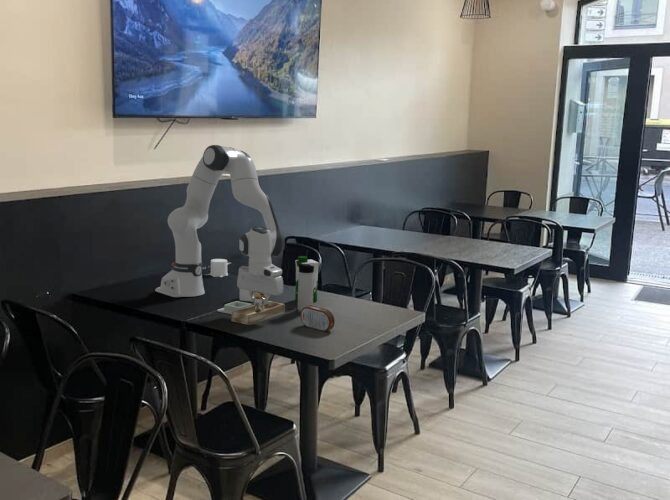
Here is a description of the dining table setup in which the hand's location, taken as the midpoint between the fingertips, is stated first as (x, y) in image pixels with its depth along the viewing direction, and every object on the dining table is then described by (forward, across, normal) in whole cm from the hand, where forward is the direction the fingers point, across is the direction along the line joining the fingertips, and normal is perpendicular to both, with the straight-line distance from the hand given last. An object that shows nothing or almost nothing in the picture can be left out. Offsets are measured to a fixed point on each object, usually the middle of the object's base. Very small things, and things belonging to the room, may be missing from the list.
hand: (259, 302), depth 274 cm
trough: (+6, 0, 0) cm, 6 cm away
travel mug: (+6, +10, +18) cm, 21 cm away
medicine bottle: (+6, -20, +19) cm, 28 cm away
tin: (+6, +27, 0) cm, 28 cm away
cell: (+4, 0, 0) cm, 4 cm away
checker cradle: (+6, -12, +2) cm, 13 cm away
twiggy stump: (+6, -61, +48) cm, 78 cm away
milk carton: (+6, +2, +31) cm, 32 cm away
